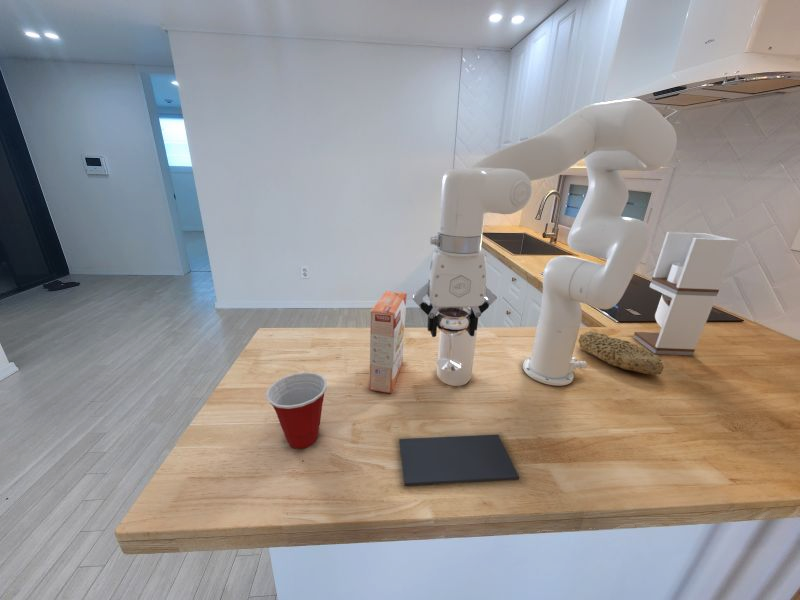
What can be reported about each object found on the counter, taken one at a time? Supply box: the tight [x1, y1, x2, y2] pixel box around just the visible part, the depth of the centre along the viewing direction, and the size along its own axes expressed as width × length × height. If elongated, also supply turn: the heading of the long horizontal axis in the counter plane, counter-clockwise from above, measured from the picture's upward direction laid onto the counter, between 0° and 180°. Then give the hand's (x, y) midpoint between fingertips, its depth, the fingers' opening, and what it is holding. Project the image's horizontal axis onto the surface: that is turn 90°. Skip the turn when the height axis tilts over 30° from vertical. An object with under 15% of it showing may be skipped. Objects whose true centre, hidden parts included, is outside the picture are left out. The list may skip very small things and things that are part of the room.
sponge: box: [578, 330, 665, 376], centre depth 95 cm, size 13×8×20 cm
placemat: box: [398, 434, 520, 487], centre depth 62 cm, size 20×10×1 cm, turn 95°
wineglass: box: [436, 307, 471, 371], centre depth 66 cm, size 7×7×12 cm
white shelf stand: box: [632, 231, 740, 356], centre depth 100 cm, size 11×11×35 cm
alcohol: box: [436, 307, 480, 387], centre depth 81 cm, size 9×9×30 cm
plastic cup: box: [265, 371, 328, 450], centre depth 63 cm, size 11×11×12 cm
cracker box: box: [368, 290, 407, 394], centre depth 82 cm, size 14×6×21 cm, turn 168°
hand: (451, 332), depth 66 cm, fingers closed on wineglass, 6 cm apart
